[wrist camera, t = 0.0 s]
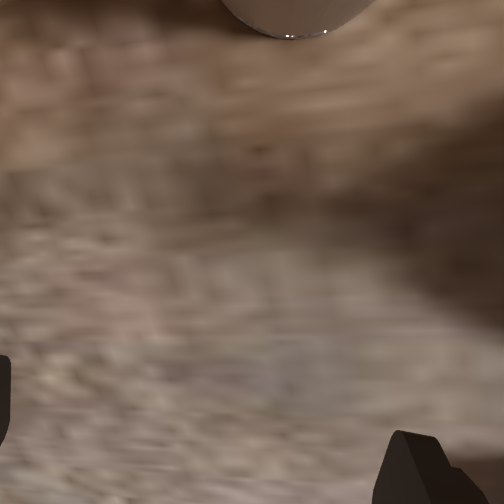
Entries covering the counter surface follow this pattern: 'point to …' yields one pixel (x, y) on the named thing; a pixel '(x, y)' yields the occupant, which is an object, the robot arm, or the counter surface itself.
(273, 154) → the counter surface
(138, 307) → the counter surface
